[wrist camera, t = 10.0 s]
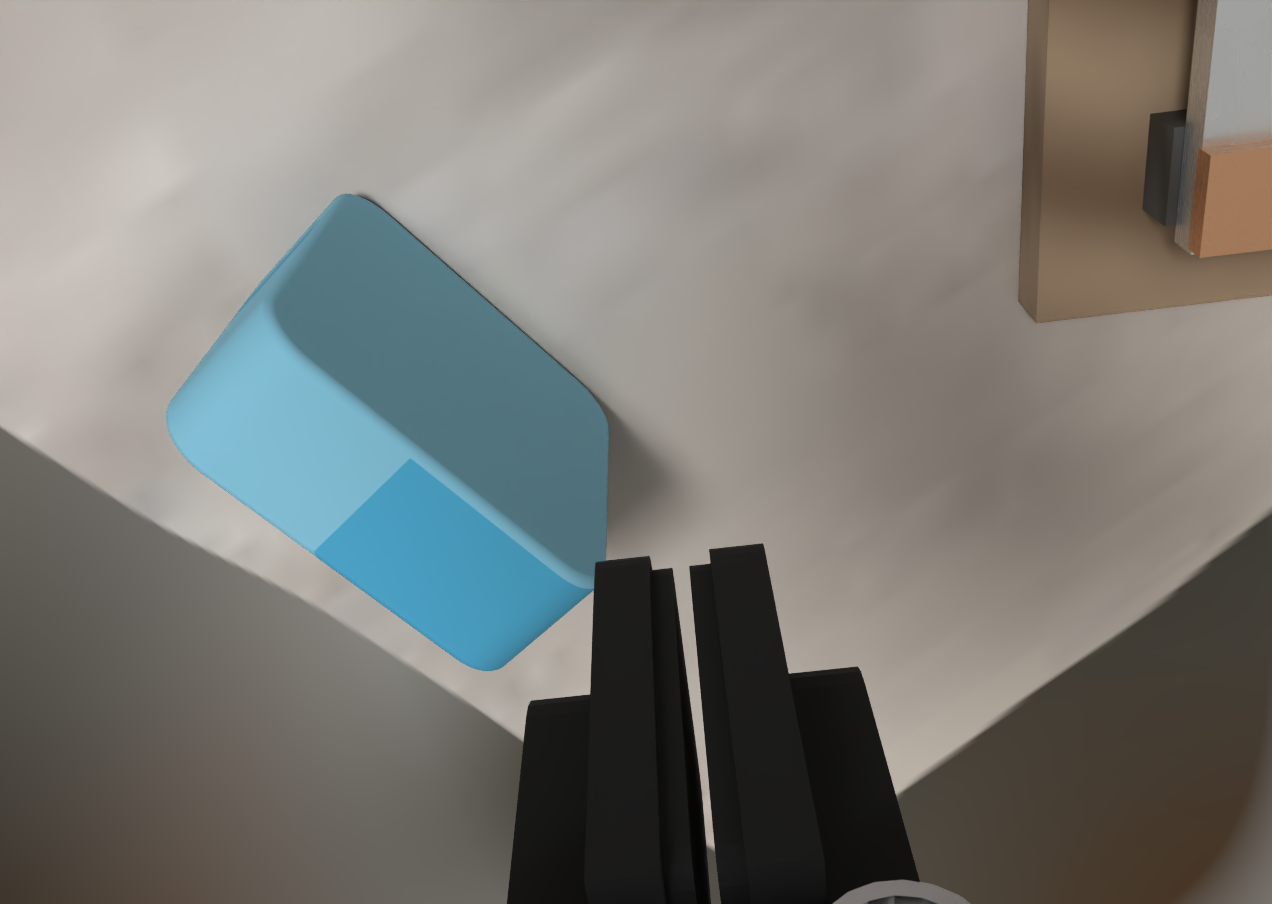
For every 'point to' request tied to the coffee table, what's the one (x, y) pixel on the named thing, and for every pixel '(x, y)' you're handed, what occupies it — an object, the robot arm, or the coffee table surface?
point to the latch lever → (1228, 132)
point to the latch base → (1113, 164)
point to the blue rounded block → (405, 437)
